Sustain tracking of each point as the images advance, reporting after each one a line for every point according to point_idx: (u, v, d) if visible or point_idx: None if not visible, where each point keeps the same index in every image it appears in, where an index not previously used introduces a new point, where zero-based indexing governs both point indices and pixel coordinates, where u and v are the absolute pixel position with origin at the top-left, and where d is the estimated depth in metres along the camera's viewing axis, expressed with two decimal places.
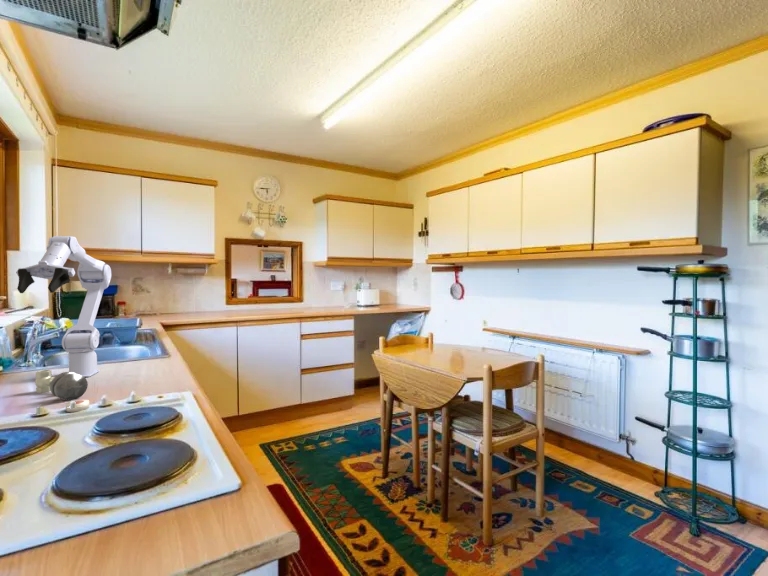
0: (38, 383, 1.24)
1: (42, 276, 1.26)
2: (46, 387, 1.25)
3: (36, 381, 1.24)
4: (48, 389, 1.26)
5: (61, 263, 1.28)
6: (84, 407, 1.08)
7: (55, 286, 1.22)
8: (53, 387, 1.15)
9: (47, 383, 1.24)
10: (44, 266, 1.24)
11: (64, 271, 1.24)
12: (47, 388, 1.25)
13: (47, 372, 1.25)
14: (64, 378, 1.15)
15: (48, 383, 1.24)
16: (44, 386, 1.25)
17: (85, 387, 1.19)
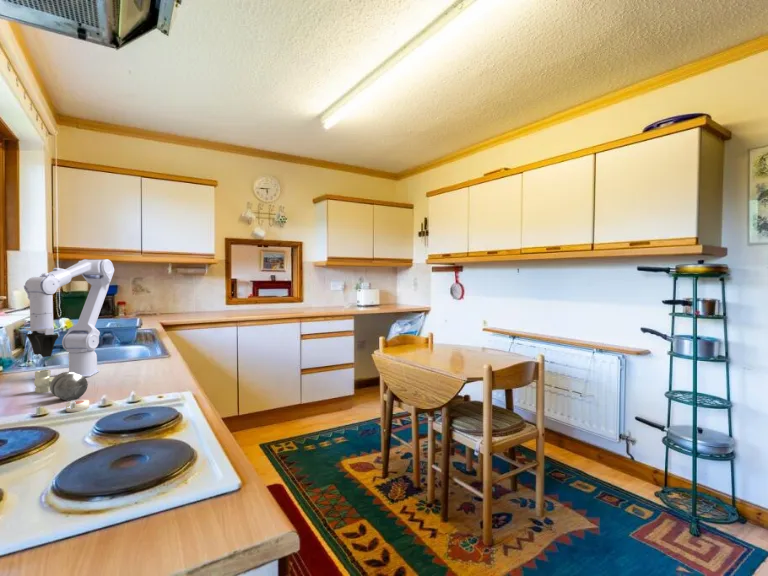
0: (37, 383, 1.24)
1: None
2: (45, 387, 1.25)
3: (35, 381, 1.24)
4: (47, 389, 1.26)
5: (43, 318, 1.29)
6: (84, 407, 1.08)
7: (48, 350, 1.28)
8: (53, 387, 1.15)
9: (46, 383, 1.24)
10: None
11: (40, 337, 1.26)
12: (46, 388, 1.25)
13: (46, 372, 1.25)
14: (64, 378, 1.15)
15: (47, 383, 1.24)
16: (43, 386, 1.25)
17: (85, 387, 1.19)
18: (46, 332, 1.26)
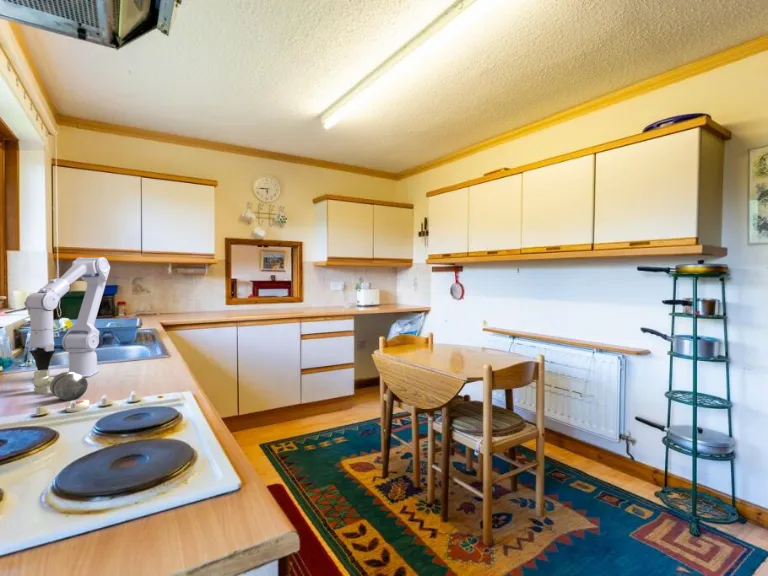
0: (36, 383, 1.24)
1: None
2: (44, 387, 1.25)
3: (34, 381, 1.24)
4: (46, 389, 1.26)
5: (43, 334, 1.29)
6: (84, 407, 1.08)
7: (44, 365, 1.31)
8: (53, 387, 1.15)
9: (45, 383, 1.24)
10: None
11: (37, 353, 1.28)
12: (45, 388, 1.25)
13: (45, 372, 1.25)
14: (64, 378, 1.15)
15: (46, 383, 1.24)
16: (42, 386, 1.25)
17: (85, 387, 1.19)
18: (46, 348, 1.26)
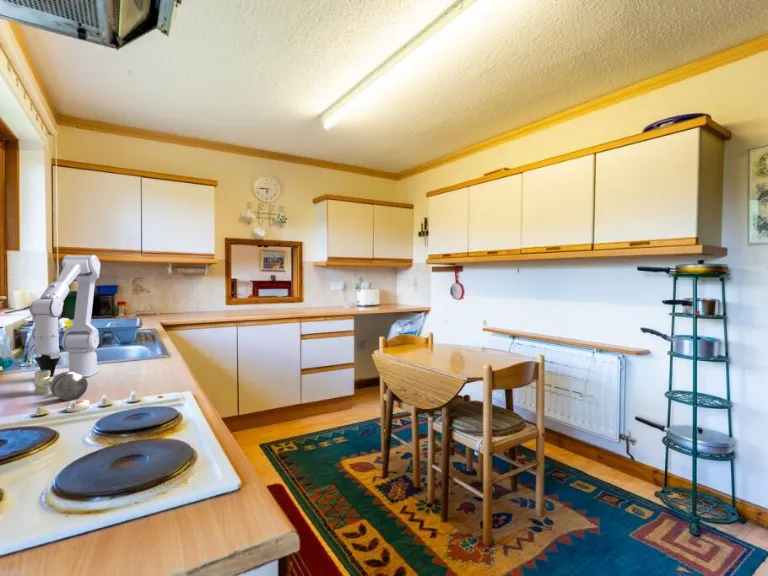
0: (37, 383, 1.23)
1: None
2: (45, 387, 1.24)
3: (35, 381, 1.23)
4: (47, 389, 1.25)
5: (48, 341, 1.26)
6: (84, 407, 1.08)
7: (50, 372, 1.28)
8: (53, 387, 1.15)
9: (46, 383, 1.23)
10: None
11: (42, 360, 1.25)
12: (46, 388, 1.25)
13: (46, 372, 1.24)
14: (64, 378, 1.15)
15: (47, 383, 1.23)
16: (43, 386, 1.24)
17: (85, 387, 1.19)
18: (52, 356, 1.23)
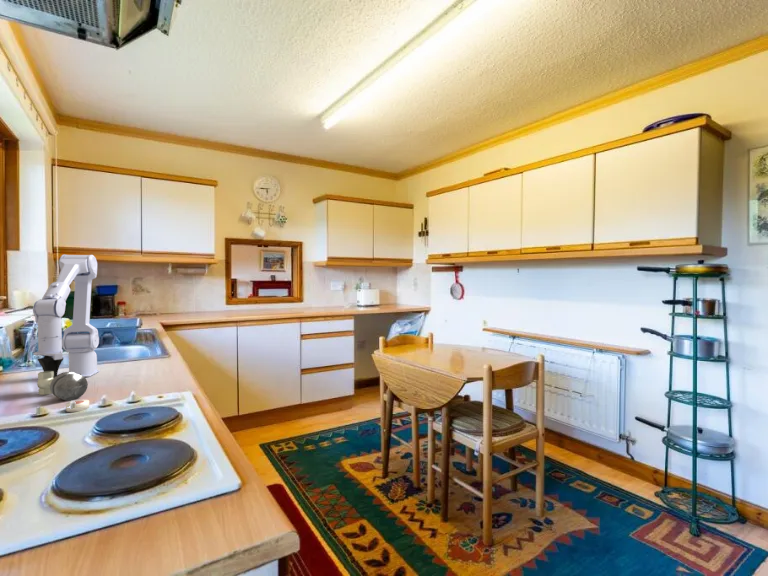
0: (41, 385, 1.22)
1: None
2: (49, 388, 1.23)
3: (38, 382, 1.22)
4: None
5: (51, 342, 1.25)
6: (84, 407, 1.08)
7: None
8: (53, 387, 1.15)
9: None
10: None
11: (45, 361, 1.24)
12: None
13: (50, 373, 1.23)
14: (64, 378, 1.15)
15: None
16: (47, 387, 1.23)
17: (85, 387, 1.19)
18: (55, 357, 1.22)
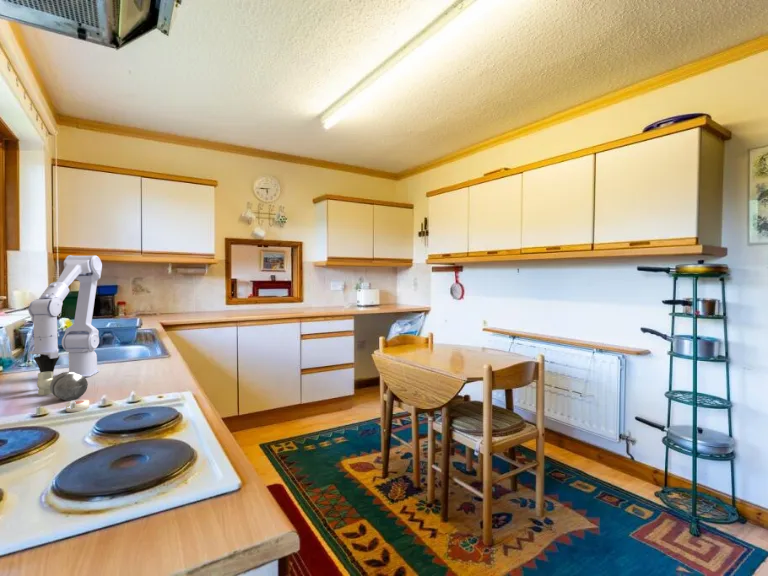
0: (40, 385, 1.22)
1: None
2: (49, 389, 1.23)
3: (38, 383, 1.22)
4: (50, 391, 1.23)
5: (47, 341, 1.27)
6: (84, 407, 1.08)
7: None
8: (53, 387, 1.15)
9: None
10: None
11: (41, 360, 1.26)
12: None
13: (49, 374, 1.23)
14: (64, 378, 1.15)
15: None
16: (47, 388, 1.23)
17: (85, 387, 1.19)
18: (51, 356, 1.24)
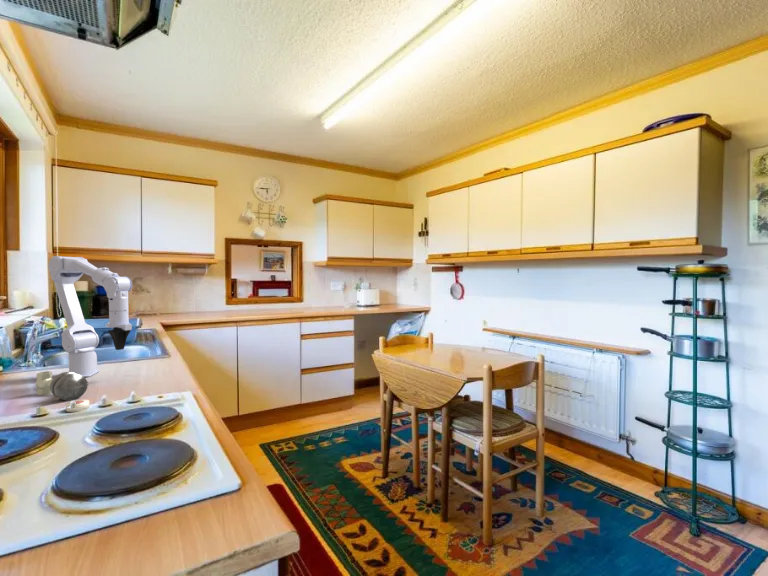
0: (39, 385, 1.22)
1: None
2: (47, 389, 1.23)
3: (37, 383, 1.22)
4: (49, 391, 1.24)
5: (121, 315, 1.39)
6: (84, 407, 1.08)
7: (121, 343, 1.41)
8: (53, 387, 1.15)
9: (49, 385, 1.22)
10: None
11: (116, 332, 1.38)
12: (48, 390, 1.23)
13: (48, 374, 1.23)
14: (64, 378, 1.15)
15: None
16: (45, 388, 1.23)
17: (85, 387, 1.19)
18: (125, 328, 1.36)
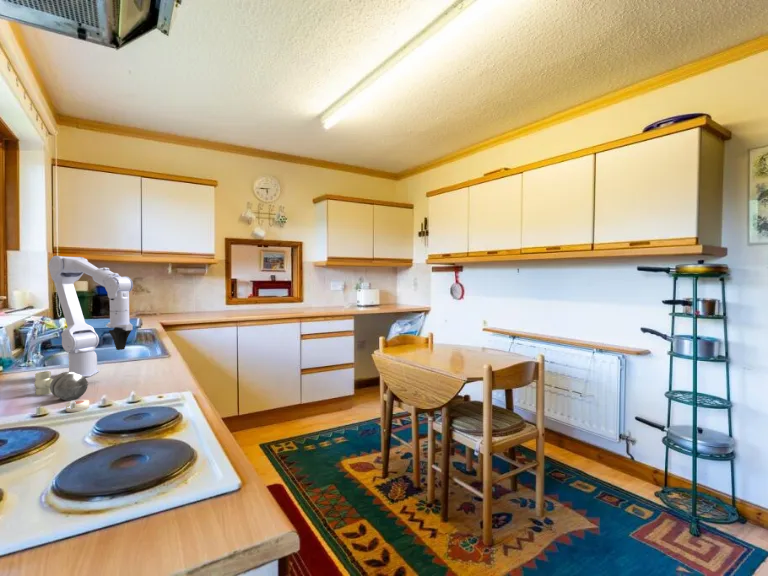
0: (38, 385, 1.22)
1: None
2: (46, 389, 1.23)
3: (36, 383, 1.22)
4: (48, 391, 1.24)
5: (122, 315, 1.39)
6: (84, 407, 1.08)
7: (122, 343, 1.41)
8: (53, 387, 1.15)
9: (48, 385, 1.22)
10: None
11: (117, 332, 1.38)
12: (47, 390, 1.23)
13: (47, 373, 1.23)
14: (64, 378, 1.15)
15: (49, 385, 1.22)
16: (44, 388, 1.23)
17: (85, 387, 1.19)
18: (126, 328, 1.36)
